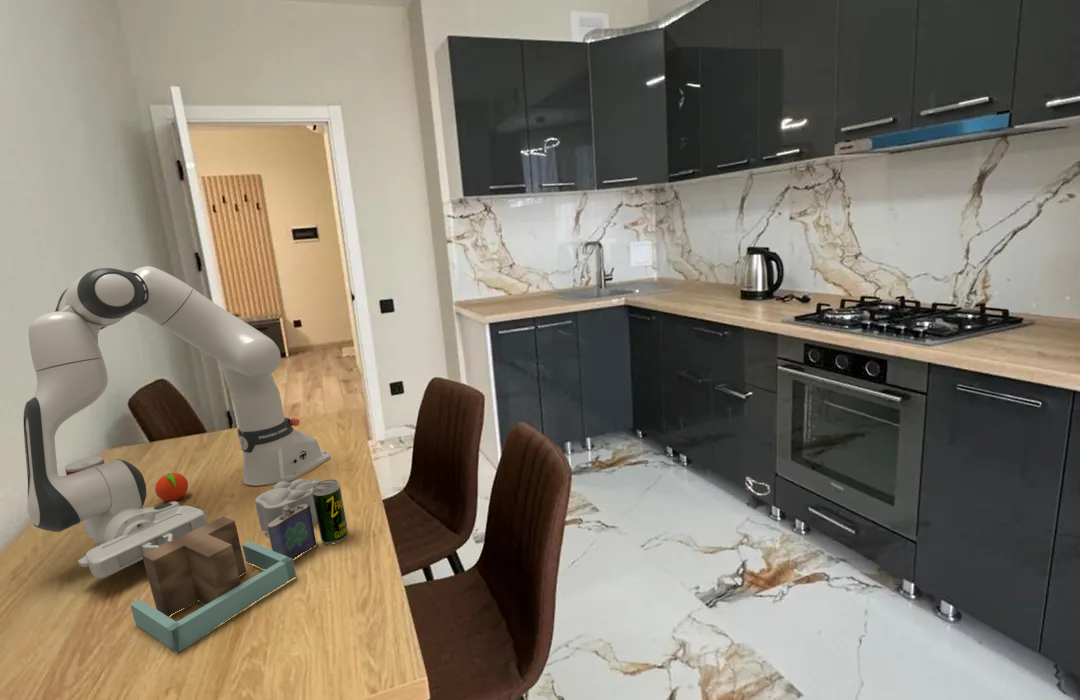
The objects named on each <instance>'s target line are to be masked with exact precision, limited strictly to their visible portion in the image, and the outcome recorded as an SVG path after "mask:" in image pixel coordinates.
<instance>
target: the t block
mask: <svg viewBox="0 0 1080 700" xmlns="http://www.w3.org/2000/svg"><path fill="white" fill-rule="evenodd" d="M142 557H143V559H142V560H143V565H144V568H145V571H146V575H147V578H148V582H149V587H150V590H151V593H152V597H153V601H154V605H155V609H157V610H158V611H160V612H161V613H163V614H165V615H166V616H168V617H169V616H170V615H171V614H173V613H175V612H177V611H179V610H181V609H183V608H185V609H187V608H189V607H190V606H189V605H191V604H192V605H194V604H196V603H197V602H196V601H198V600H199V601H200V602H199V601H198V602H199V603H201V602H202V603H203V604H202V603H201V604H202V605H204V604H205V605H206V604H208V603H210V602H212V601H213V600H215V599H217V598H218V597H220V596H222V595H223V594H225V593H227V592H229V591H230V590H232V589H234V588H235V587H237V586H239V585H240V584H242V583H241V577H240V578H239V576H240V575H242V574H243V573H245V572H247V568H246V564H245V558H244V554H243V549H242V546H241V543H240V537H239V533H238V529H237V525H236V521H235V520H233V519H231V518H229V517H225V516H221V517H219V518H216V519H214V520H212V521H210V522H207V524H206V525H204V526H202V527H200V528H198V529H195V530H193V531H191V532H189V533H187V534H185V535H183V536H181V537H179V538H176V539H174V540H172V541H170V542H168V543H166V544H164V545H162V546H160V547H157V548H155V549H153V550H151V551H149V552H147V553H145V554H143V555H142ZM195 602H196V603H195ZM193 603H194V604H193ZM192 605H191V606H192ZM205 605H204V606H205ZM188 606H189V607H188ZM186 607H187V608H186Z"/></svg>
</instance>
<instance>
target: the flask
mask: <svg viewBox="0 0 1080 700" xmlns="http://www.w3.org/2000/svg"><path fill="white" fill-rule="evenodd" d="M284 506H286V505H283V506H282V507H284ZM280 509H282V508H280ZM267 527H268V532H269V535H268V536H269V541H270V546H271V548H272V549H271V550H272V551H275V552H277V553H280V554H282V555H285V556H287V557H289V558H292V559H294V558H295V557H297V556H298V555H300V554H301V553H303V552H305V551H307V550H309V549H310V548H312V549H314V548H313V547H314V546H315V545H316V546H317V540H316V535H315V528H314V525H313V523H312V516H311V511H310V505H307V504H302V505H298V506H296V507H295V508H293V509H291V508H289V506H288V505H287V506H286V507H284V508H283V515H281V516H279V517H278V518H276V519H275V520H273V521H272V522H271V523H269V524H268V526H267ZM307 552H308V551H307Z"/></svg>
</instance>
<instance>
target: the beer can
mask: <svg viewBox="0 0 1080 700" xmlns="http://www.w3.org/2000/svg"><path fill="white" fill-rule="evenodd" d="M312 488H313V491H312V495H313V500H314V505H315V510H316V516H317V521H318V522H317V526H318V531H319V536H320V540H321V542H324V543H323V544H325V543H326V544H325V545H328V544H331V545H333V544H332V543H336V544H338V543H337V542H339V541H341V542H343V541H344V540H343V539H345V538H346V539H347V537H348V534H349V528H348V522H347V518H346V512H345V506H344V501H343V495H342V490H341V485H340V484H339V481H338V479H337V480H336V479H329V478H328V479H324V480H320V481H318V483H316V484H315V485H314V486H313V487H312ZM346 539H345V540H346ZM342 540H343V541H342ZM339 543H340V542H339Z"/></svg>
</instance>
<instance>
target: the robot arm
mask: <svg viewBox="0 0 1080 700" xmlns="http://www.w3.org/2000/svg"><path fill="white" fill-rule="evenodd" d="M57 301H58V302H57V304H56V307H55V310H54V311H51V312H47V313H45V314H41V315H40V316H38V317H36V318H34V319H33V320H32V322H31V323H30V324H29V325H28V340H29V341H28V342H29V349H30V356H31V360H32V364H33V368H34V372H35V375H36V382H37V384H36V390H35V393H34V396H33V397H32V398H31V399H29V400H28V401H26V404H25V406H24V408H23V409H24V410H23V436H24V437H23V438H24V451H25V460H26V461H25V463H26V473H27V475H26V476H27V505H26V506H27V513H28V514H27V515H28V518H29V519H30V520H31V523H32V524H33V525H34V527H36V528H38V529H41V530H43V531H47V532H56V533H60V532H62V531H64V530H67V529H70V528H72V527H73V526H76V525H78V524H80V523H81V524H82V528H83V530H84V531H85V534H87V535H88V536H89V538H91V539H92V540H93V541H94V542H95V543H97V544H99V545H97V546H95V547H93V548H91V549H89V550H88V551H87V552H86V553H85V554H84V555H83V557H82V558H80V559H78V561H77V563H78V565H79V566H81V567H83V568H87V567H88V569H89V571H90V573H91V574H92V575H93V576H94V577H95V578H96V579H104V578H108V577H109V576H111V575H114V574H115V573H116V574H117V572H118V573H119V571H121V570H124V569H126V568H128V567H130V566H132V565H134V564H136V563H138V562H140V561H142V560H143V557H142V555H143V554H145V553H147V552H149V551H151V550H153V549H155V548H157V547H160V546H162V545H164V544H166V543H168V542H170V541H172V540H174V539H176V538H179V537H181V536H183V535H185V534H187V533H189V532H191V531H193V530H195V529H198V528H200V527H202V526H204V525H206V524H208V519H207V515H206V513H205V511H204V510H202V509H199V507H198V508H197V507H194V506H190V505H180V503H179V502H178V501H171V502H167V503H164V504H163V503H162V504H160V505H157V506H155V505H154V506H151V507H144V505H145V502H146V498H147V486H146V481H145V478H144V476H143V474H142V472H141V471H140V470H139V468H137V467H136V466H135V465H134V464H132V463H130V462H128V461H127V460H124V459H119V458H118V459H115V460H111V461H108V462H104V464H101V465H97V466H94V467H92V468H89V469H86V470H83V471H80V472H76V473H73V474H70V475H67V474H66V475H63V476H62V475H60V476H59V474H58V473H59V472H58V463H57V462H58V461H57V449H56V441H55V440H56V439H55V437H56V433H57V431H58V430H59V427H60V426H61V425H62V424H63V423H64V422H66V421H67V420H68V419H70V418H72V417H73V416H74V415H76V414H78V413H80V412H81V411H83V410H84V409H86V408H88V407H89V406H90V405H92V404H94V403H95V402H96V401H97V400H98V399H99V398H101V396H102V395H103V393H105V391H106V388H107V386H108V382H109V380H108V378H109V377H108V376H109V375H108V371H107V367H106V363H105V361H104V357H103V355H102V352H101V348H100V346H99V333H100V330H104V329H105V328H107V327H110V326H111V325H112V326H113V325H114V324H116V323H118V322H120V321H122V320H123V319H124V317H127V316H128V315H131V314H133V313H136V314H139V315H142V316H145V317H147V318H149V319H150V320H152V322H154V323H156V324H157V325H158V326H161V327H163V328H164V329H166V330H167V331H169V332H170V333H173V334H174V335H175V336H177V337H179V338H180V339H182V340H183V341H185V342H186V343H188V344H190V345H191V346H194V347H195V348H197V349H198V350H200V351H202V352H203V353H205V354H206V355H209V356H210V357H212V358H213V359H214V360H217V361H218V362H219V364H220V365H219V366H220V369H221V371H222V374H223V377H224V380H225V383H226V385H227V390H228V391H229V393H230V397H231V399H232V403H233V409H234V414H235V417H236V422H237V426H238V428H237V430H236V431H237V435H238V436H237V437H238V441H239V445H240V448H241V451H242V456H243V475H242V476H243V477H242V482H243V484H245V485H247V486H266V485H273V484H277V483H278V482H281V481H286V482H292V481H295V480H297V479H299V477H301V476H303V475H305V474H307V473H308V472H310V471H311V470H313V469H315V468H317V467H318V466H320V465H322V464H323V463H325V462H326V461H328V460H330V459H331V454H330V452H329V451H327V450H325V449H322V448H321V447H320V445H319V443H318V441H317V439H316V438H315V437H314V436H312V435H309V434H307V433H305V432H302V431H299V430H298V429H294V428H293V426H294V427H298V426H299V425H300V424H301V422H300V419H298V418H296V417H293V418H288V417H285V414H284V409H283V403H282V399H281V397H282V396H281V394H280V390H279V388H278V386H277V384H276V382H275V379H274V377H273V374H272V373H274V372H275V371H276V369H277V368H278V367H279V365H280V363H281V357H282V355H281V351H280V348H279V347H278V345H277V344H276V343H275V341H274V340H273V339H271V338H270V337H269V336H267V334H266V335H265V334H264V333H263V332H261V331H260V330H258V329H256V328H255V327H253V326H252V325H250V324H249V323H247V322H245V321H244V320H243V319H240V318H239V317H237V316H236V315H234V314H232V313H231V312H229V311H227V310H225V309H224V308H222V307H221V306H219V305H218V304H217V303H215V302H213V301H212V300H211V299H209V298H208V297H206V296H204V295H203V294H202V293H201V292H199V291H198V290H196V289H195V288H193V287H192V286H191V285H188V284H187V283H185V282H184V281H182V280H181V279H179V278H177V277H175V276H174V275H172V274H170V273H168V272H166V271H164V270H161V269H160V268H156V267H154V266H150V265H146V266H142V267H138V268H136V269H134V270H133V271H127V270H125V271H124V270H121V269H118V268H111V267H103V268H96V269H93V270H90V271H87V272H86V273H85V274H83V275H82V276H79V278H77V279H75V280H73V282H72V283H70V284H69V287H67V288H66V289H65V290H64V291H63V292H62V294H61V295H60V297H59V299H58V300H57ZM143 507H144V508H143Z"/></svg>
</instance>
